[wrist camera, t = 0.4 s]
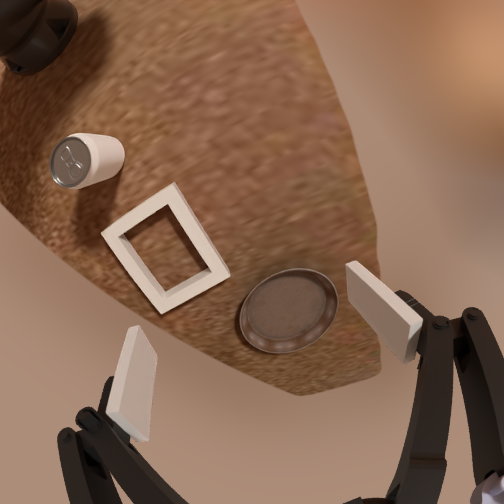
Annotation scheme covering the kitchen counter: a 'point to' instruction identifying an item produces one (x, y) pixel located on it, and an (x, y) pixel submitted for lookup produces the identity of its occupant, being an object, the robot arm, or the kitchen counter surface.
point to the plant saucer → (289, 310)
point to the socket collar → (138, 268)
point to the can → (85, 160)
